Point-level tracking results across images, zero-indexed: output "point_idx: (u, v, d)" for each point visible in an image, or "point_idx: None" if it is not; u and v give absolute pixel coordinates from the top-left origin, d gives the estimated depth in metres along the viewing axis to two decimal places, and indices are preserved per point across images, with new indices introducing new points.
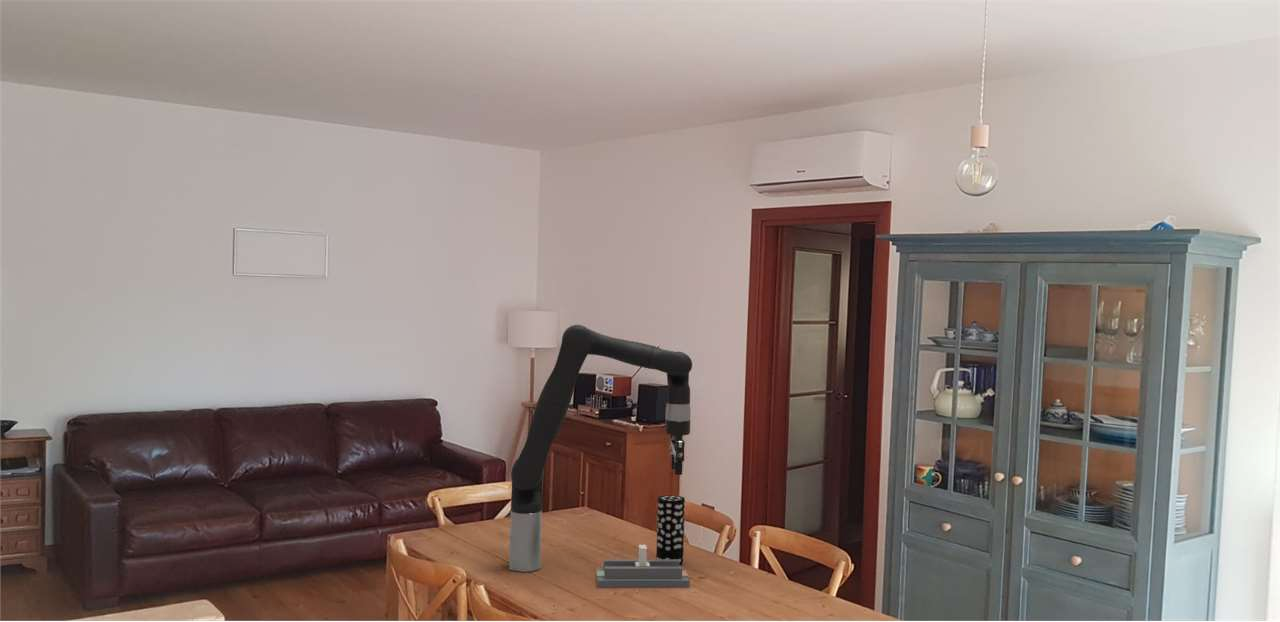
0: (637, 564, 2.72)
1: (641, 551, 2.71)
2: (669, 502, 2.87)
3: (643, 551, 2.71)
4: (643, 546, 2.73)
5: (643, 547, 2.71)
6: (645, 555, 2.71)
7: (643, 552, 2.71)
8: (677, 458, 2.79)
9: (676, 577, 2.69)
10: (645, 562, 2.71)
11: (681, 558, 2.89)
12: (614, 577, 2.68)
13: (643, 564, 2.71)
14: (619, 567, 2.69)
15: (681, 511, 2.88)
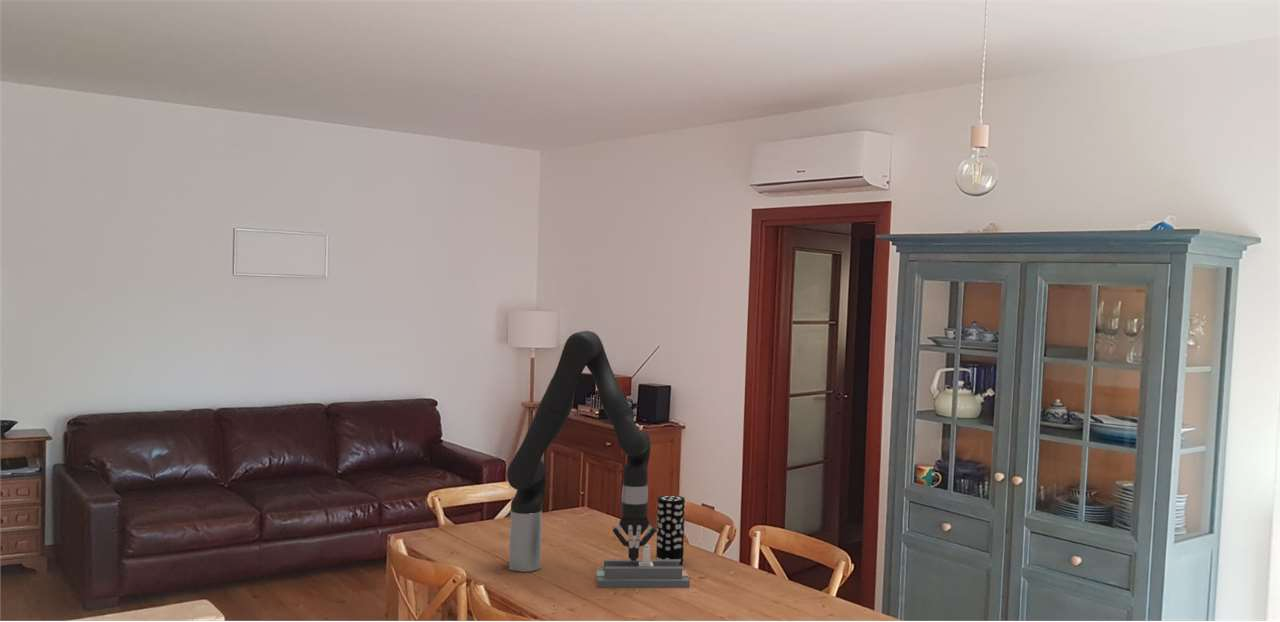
0: (641, 564, 2.72)
1: (645, 551, 2.71)
2: (669, 502, 2.87)
3: (646, 551, 2.71)
4: (647, 546, 2.73)
5: (646, 547, 2.71)
6: (649, 555, 2.71)
7: (647, 552, 2.71)
8: None
9: (676, 577, 2.69)
10: (649, 562, 2.71)
11: (681, 558, 2.89)
12: (614, 577, 2.68)
13: (647, 564, 2.71)
14: (619, 567, 2.69)
15: (681, 511, 2.88)
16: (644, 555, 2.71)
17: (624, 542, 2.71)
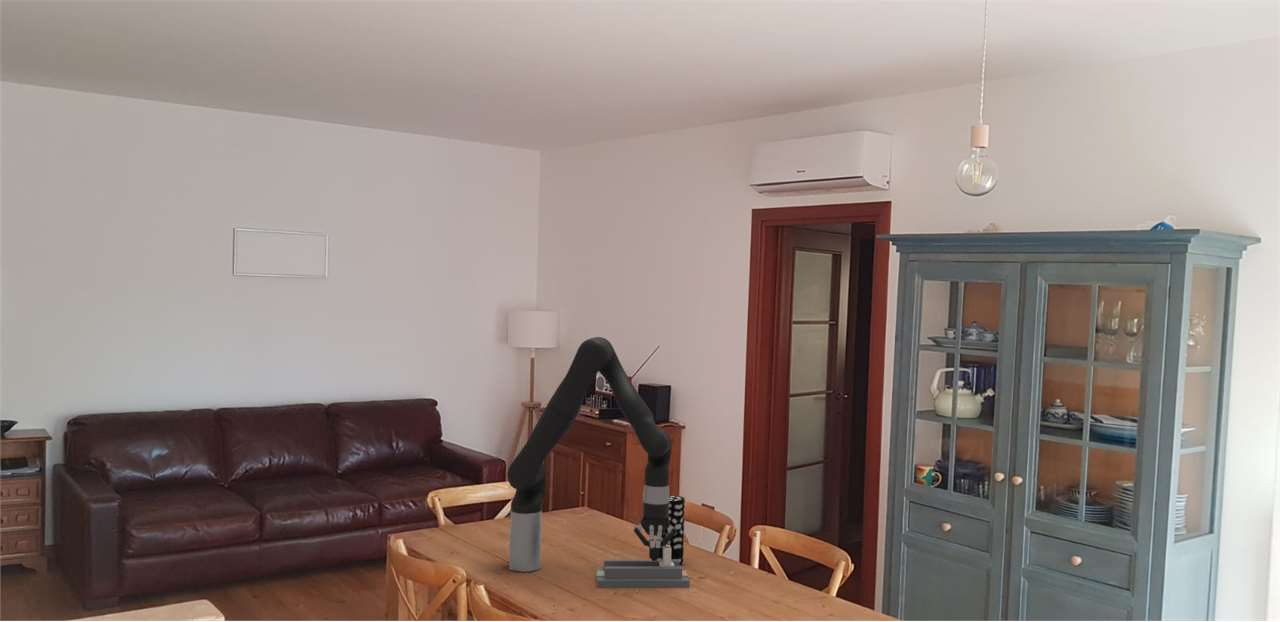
0: (661, 564, 2.73)
1: (666, 551, 2.71)
2: (669, 502, 2.87)
3: (667, 551, 2.71)
4: (667, 546, 2.73)
5: (667, 547, 2.72)
6: (670, 555, 2.71)
7: (668, 552, 2.71)
8: None
9: (676, 577, 2.69)
10: (670, 562, 2.71)
11: (681, 558, 2.89)
12: (614, 577, 2.68)
13: (668, 564, 2.71)
14: (619, 567, 2.69)
15: (681, 511, 2.88)
16: (665, 555, 2.71)
17: (645, 542, 2.71)
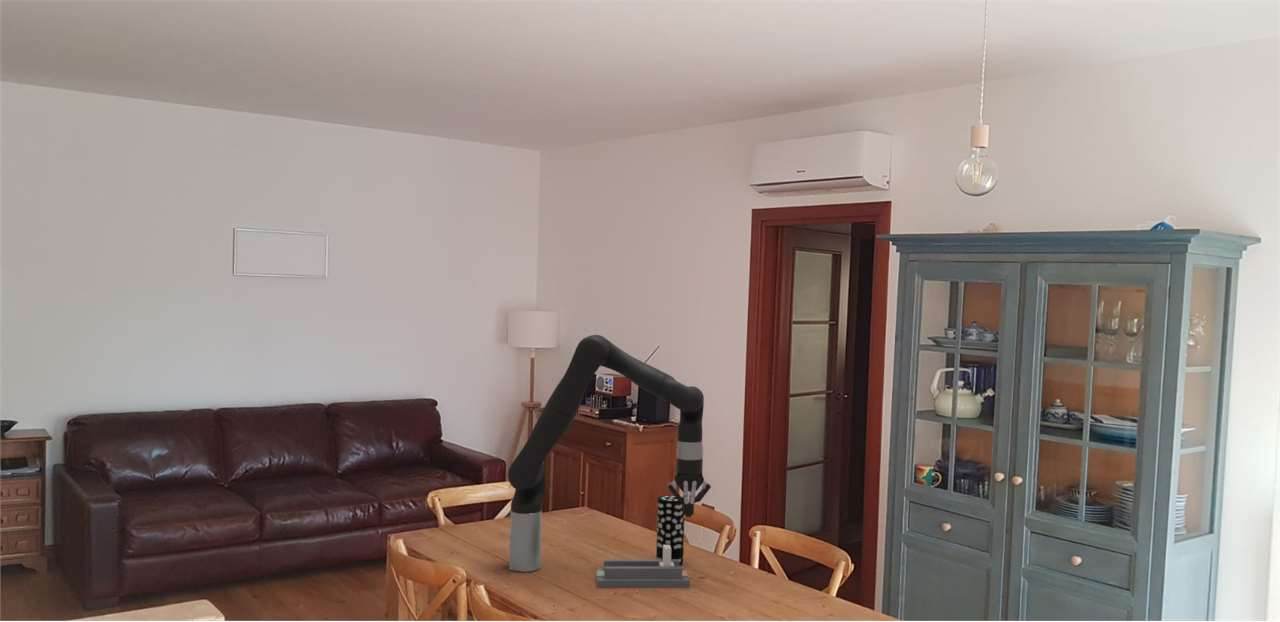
0: (661, 564, 2.73)
1: (666, 551, 2.71)
2: (669, 502, 2.87)
3: (667, 551, 2.71)
4: (667, 546, 2.73)
5: (667, 547, 2.72)
6: (669, 555, 2.71)
7: (668, 552, 2.71)
8: None
9: (676, 577, 2.69)
10: (669, 562, 2.71)
11: (681, 558, 2.89)
12: (614, 577, 2.68)
13: (667, 564, 2.71)
14: (619, 567, 2.69)
15: (681, 511, 2.88)
16: (665, 555, 2.71)
17: (679, 498, 2.72)
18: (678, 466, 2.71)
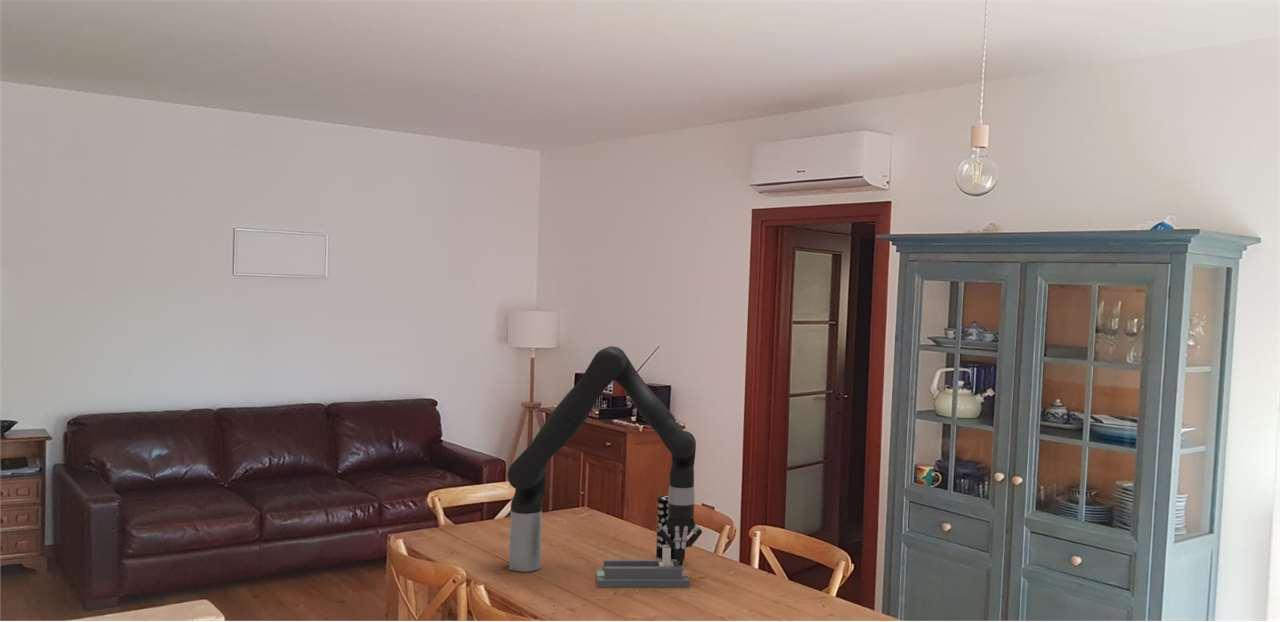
0: (661, 564, 2.73)
1: (665, 551, 2.71)
2: None
3: (667, 551, 2.71)
4: (667, 546, 2.73)
5: (667, 547, 2.72)
6: (669, 555, 2.71)
7: (667, 552, 2.71)
8: None
9: (676, 577, 2.69)
10: (669, 562, 2.71)
11: None
12: (614, 577, 2.68)
13: (667, 564, 2.71)
14: (619, 567, 2.69)
15: None
16: (664, 555, 2.71)
17: (671, 543, 2.72)
18: (670, 511, 2.71)
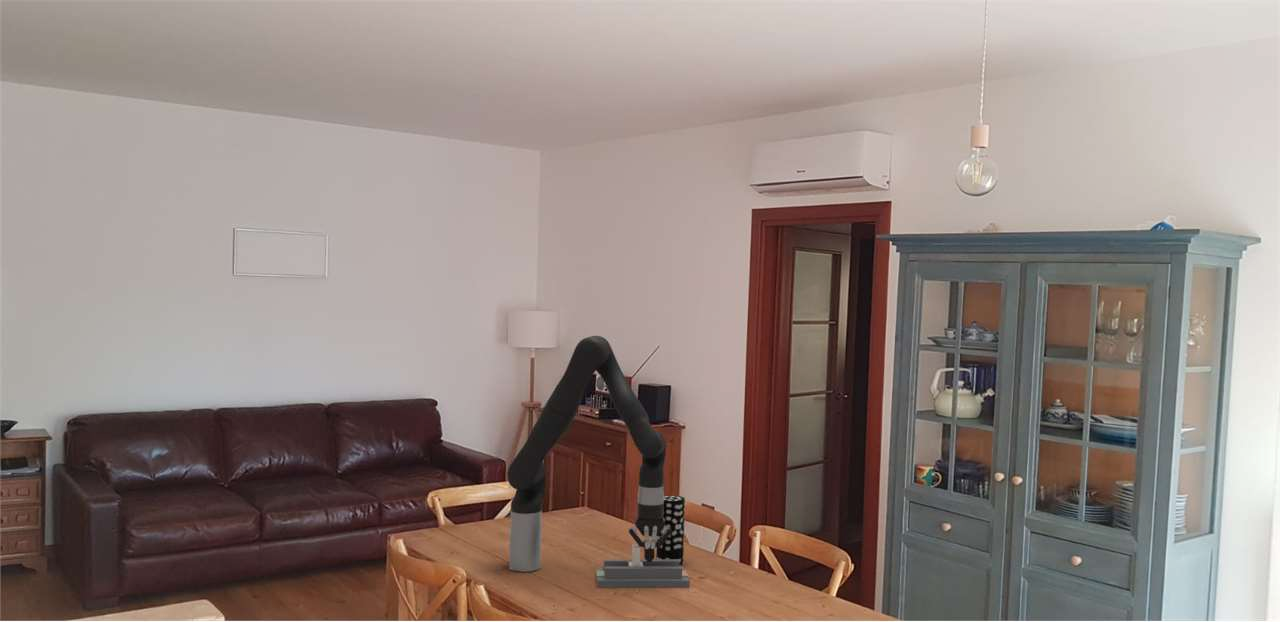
0: (630, 564, 2.72)
1: (634, 551, 2.70)
2: (669, 502, 2.87)
3: (636, 551, 2.70)
4: (637, 546, 2.73)
5: (636, 547, 2.71)
6: (638, 555, 2.71)
7: (637, 552, 2.70)
8: None
9: (676, 577, 2.69)
10: (638, 562, 2.71)
11: (681, 558, 2.89)
12: (614, 577, 2.68)
13: (636, 564, 2.71)
14: (619, 567, 2.69)
15: (681, 511, 2.88)
16: (634, 555, 2.70)
17: (640, 543, 2.71)
18: (639, 511, 2.71)
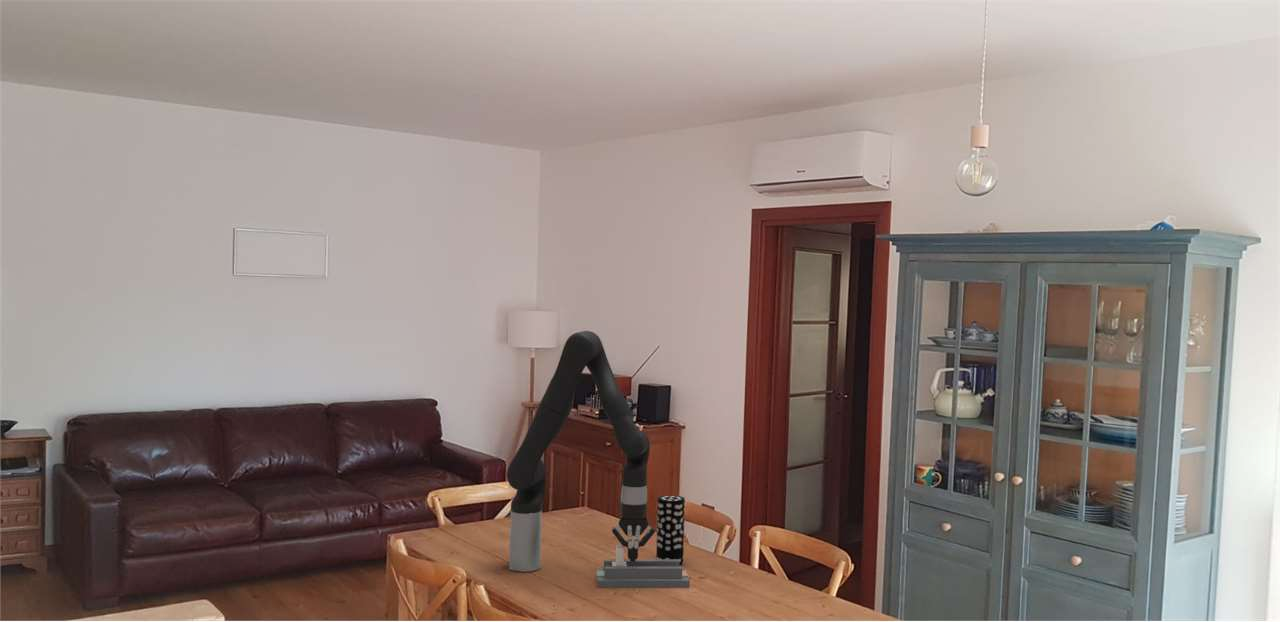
0: (614, 564, 2.71)
1: (618, 551, 2.70)
2: (669, 502, 2.87)
3: (619, 551, 2.70)
4: (620, 546, 2.72)
5: (619, 547, 2.71)
6: (622, 555, 2.70)
7: (620, 552, 2.70)
8: None
9: (676, 577, 2.69)
10: (622, 562, 2.70)
11: (681, 558, 2.89)
12: (614, 577, 2.68)
13: (620, 564, 2.70)
14: (619, 567, 2.69)
15: (681, 511, 2.88)
16: (617, 555, 2.70)
17: (623, 542, 2.71)
18: (622, 510, 2.70)
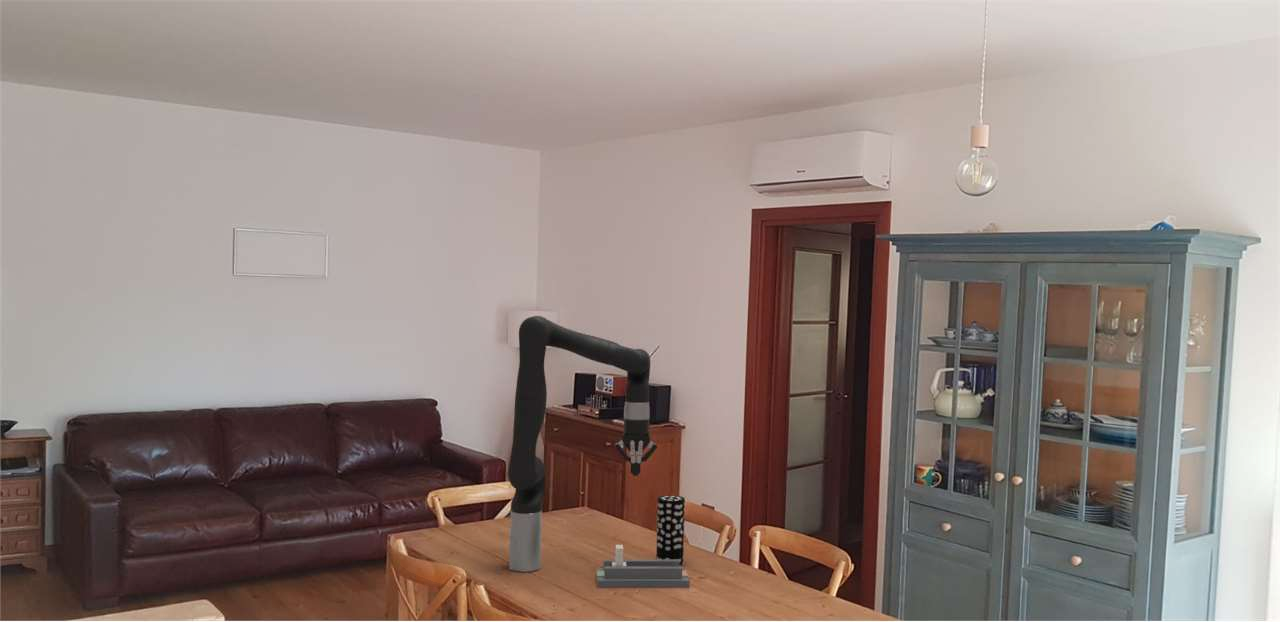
0: (614, 564, 2.71)
1: (618, 551, 2.70)
2: (669, 502, 2.87)
3: (619, 551, 2.70)
4: (620, 546, 2.72)
5: (619, 547, 2.71)
6: (622, 555, 2.70)
7: (620, 552, 2.70)
8: None
9: (676, 577, 2.69)
10: (622, 562, 2.70)
11: (681, 558, 2.89)
12: (614, 577, 2.68)
13: (620, 564, 2.70)
14: (619, 567, 2.69)
15: (681, 511, 2.88)
16: (617, 555, 2.70)
17: (626, 457, 2.78)
18: (625, 426, 2.78)
